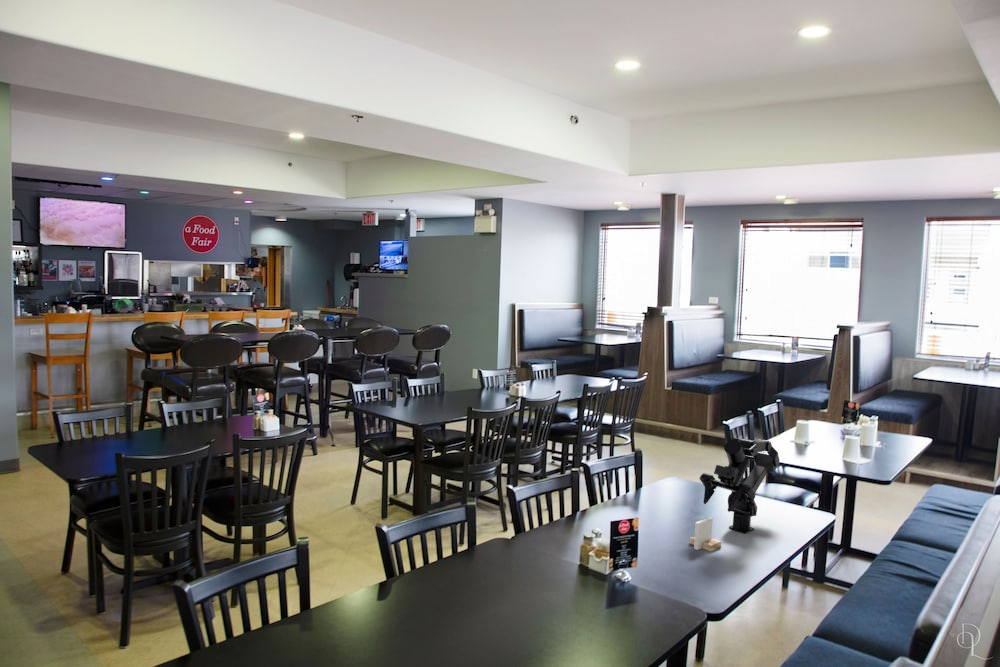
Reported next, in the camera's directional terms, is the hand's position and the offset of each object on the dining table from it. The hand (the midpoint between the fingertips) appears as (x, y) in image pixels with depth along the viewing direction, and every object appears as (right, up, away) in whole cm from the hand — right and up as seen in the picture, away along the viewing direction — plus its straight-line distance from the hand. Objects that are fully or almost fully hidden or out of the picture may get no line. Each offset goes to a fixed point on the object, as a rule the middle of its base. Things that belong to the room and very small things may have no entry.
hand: (716, 507), depth 232 cm
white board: (-5, -12, -3) cm, 14 cm away
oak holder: (-4, -12, -2) cm, 13 cm away
